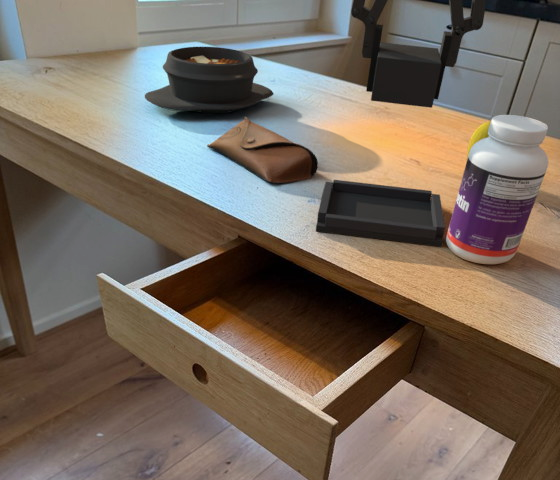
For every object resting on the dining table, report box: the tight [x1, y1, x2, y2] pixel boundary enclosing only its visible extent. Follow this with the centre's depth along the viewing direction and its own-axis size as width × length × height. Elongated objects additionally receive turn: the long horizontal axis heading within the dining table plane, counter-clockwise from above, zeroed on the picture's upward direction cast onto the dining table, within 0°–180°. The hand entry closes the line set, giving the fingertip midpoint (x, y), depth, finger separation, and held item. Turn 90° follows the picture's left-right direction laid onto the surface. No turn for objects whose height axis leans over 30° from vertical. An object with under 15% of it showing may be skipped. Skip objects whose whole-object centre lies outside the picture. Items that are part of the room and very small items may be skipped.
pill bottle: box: [445, 114, 549, 265], centre depth 61 cm, size 8×8×14 cm
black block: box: [370, 41, 442, 109], centre depth 66 cm, size 7×9×4 cm
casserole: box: [144, 46, 274, 114], centre depth 102 cm, size 25×19×8 cm
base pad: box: [315, 179, 446, 247], centre depth 71 cm, size 15×12×2 cm
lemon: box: [466, 120, 491, 159], centre depth 83 cm, size 6×6×8 cm
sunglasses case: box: [206, 116, 319, 184], centre depth 83 cm, size 18×7×7 cm
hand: (401, 92), depth 68 cm, fingers closed on black block, 7 cm apart
